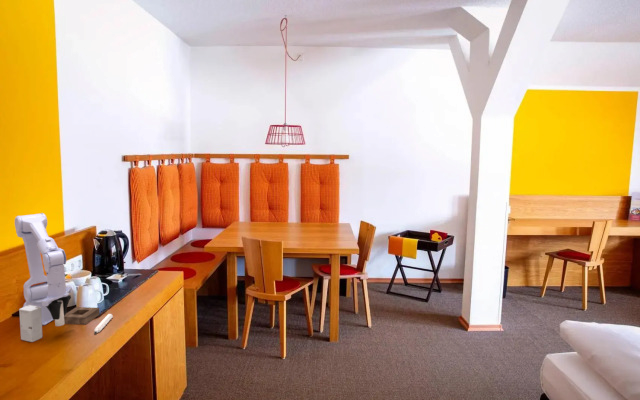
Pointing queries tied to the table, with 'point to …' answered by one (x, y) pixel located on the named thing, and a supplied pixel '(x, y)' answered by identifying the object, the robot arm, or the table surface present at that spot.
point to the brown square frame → (81, 315)
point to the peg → (61, 319)
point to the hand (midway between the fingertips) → (59, 317)
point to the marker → (103, 323)
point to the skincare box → (30, 323)
